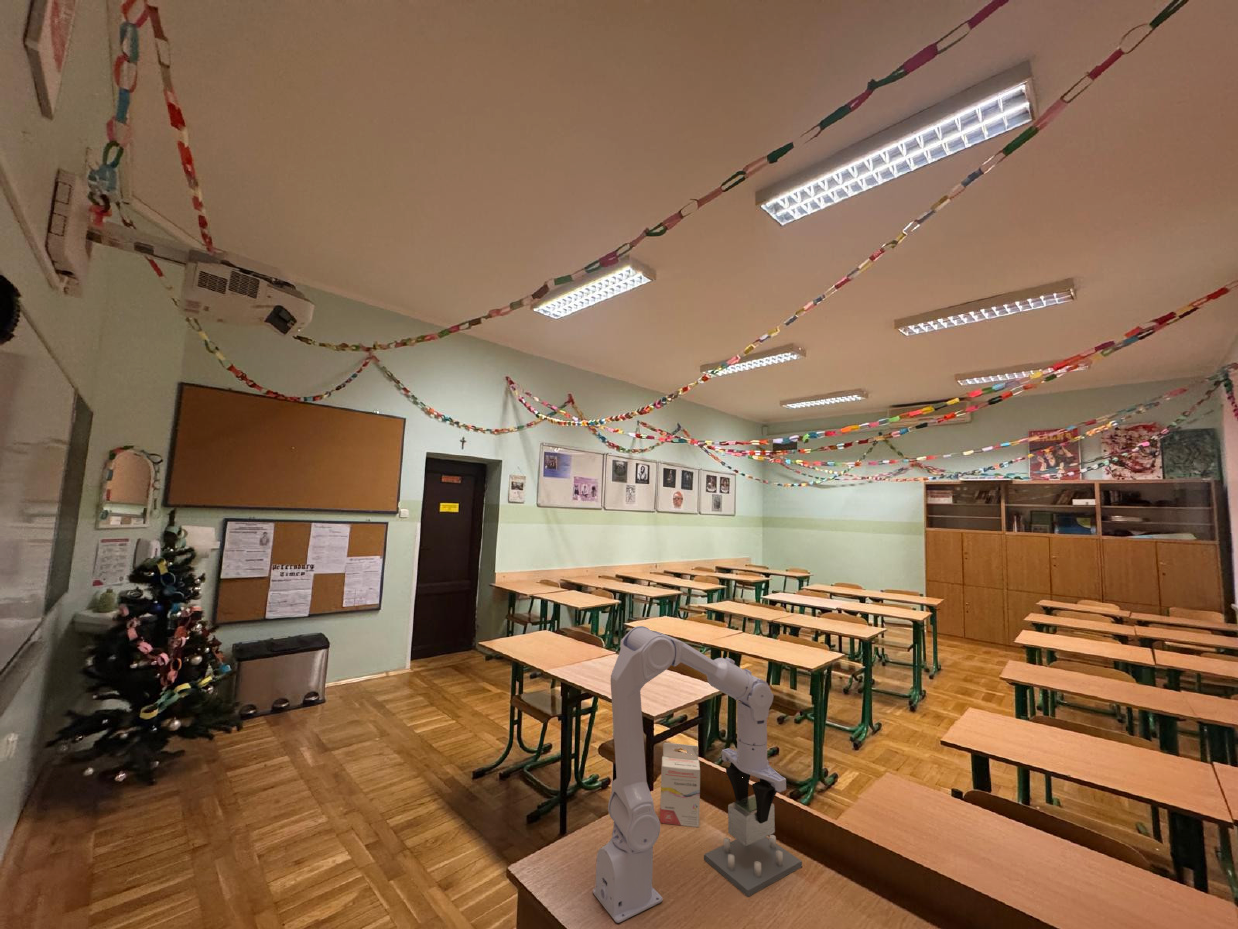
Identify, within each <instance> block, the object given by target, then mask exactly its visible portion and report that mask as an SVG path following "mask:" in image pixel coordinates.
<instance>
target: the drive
mask: <svg viewBox="0 0 1238 929" xmlns="http://www.w3.org/2000/svg"><path fill="white" fill-rule="evenodd" d="M727 813H728V814H727V817H728V818H727V819H728V820H727V822H728V823H727V830H728V832H727V833H728V834H729V835H730V836H732V837H733V838H734V839H735V840H736V839H737V840H739V841H740V842H741V843H743V844H744V845H745V846H748V845H750V844H752V843H754V842H756V841H758V840H760V839H762V838H764V837H768V836H769V837H770V835H774V834H775V832H776V826H775V820H776V819H775V804H774V803H773V802H772V804H771V808H770V811H769V816H768V821H766V822H764V823H759V822H758V820H757V807H756V798H755V794H754V793H753V794H751V795H750V796H749V795H748V797H746V798H744V799H741V800H739V801H736V800H735V801H734V802H732V803H729V804H727Z"/></svg>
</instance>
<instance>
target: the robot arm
mask: <svg viewBox="0 0 1238 929" xmlns="http://www.w3.org/2000/svg"><path fill="white" fill-rule="evenodd" d="M681 663H682V664H684V665H686V666H688V667H690V668H692V669H694V670H695V671H698V672H699V673H701V674H703V675H705V676H706V678H707V682H708V684H709V685H710V686H711V687H712V688H714V689H716V690H718V691H719V692H721V693H724V694H725V695H727V696H729V697H731V698H733V699H734V701H737V703H736V704H737V705H736V706H737V707H736V708H737V710H736V711H737V713H736V714H737V718H736V720H737V722H736V724H737V730H736V736H737V738H736V742H737V743H736V750H733V749H732V748H729V747H728V748H725V749H722V750H721V760H722V761H723V762H729V763H730V765H729V767H727V768H725V774H726V775H727V777H728V779H729V781H730V784H731V787H732V790H733V794H734V797H735V802H736V801H739V800H741V799H744V798H746V797H749V786H750V779H751V776H753V777H755V778H757V779H759V781H756V782H754V783H752V784H751V787H752V790H753V795H754V794H755V798H756V807H757V820H758V822H759V823H764V822H766V821H768V816H769V811H770V808H771V804H772V803H773V801H774V799H775V797H776V794H777V793H781V792H784V791H786V790H787V778H785V777H784V776H782V775H780V774H779V773H778V772H777V771H776V770H775V769H774V768H773V767H772V766H771V765H770V763H769V762H770V761H769V760H768V717H769V716H770V715H769V713H770V707H771V706H772V704H773V701H774V693H772V689H771V686H770V685H769V682H767V681H766V680H763V679H761V678H760V677H757V676H755V675H752V673H753V672H752V671H751V670H749V669H748V668H744V669H743V668H741V667H739V666H737V664H736V663H735V660H733V659H732V658H729V657H728V656H726V657H725V658H723V657H718V658H715V659H712V658H710V657H709V656H707V655H705V654H704V653H702V652H700V651H699V650H697V649H696V648H694V647H692V646H690V645H689V644H688V643H686V642H684V641H682V640H679V639H677V638H675V637H672V636H670V635H667V634H664V633H661V632H659V631H656V630H651V629H649V628H648V627H646V626H644V625H639V626H635V627H633V628H631V629H630V630H629V631H628V632H627V633H626V634H625V635H624V636H623V638H621V640H620V650H619V653H618V655H617V658H616V659H615V664H614V665H613V669H612V672H611V674H610V680H609V681H610V692H611V694H610V695H611V709H612V711H611V712H612V713H611V714H612V724H613V725H612V726H613V729H612V730H613V742H614V744H613V745H614V758H615V771H616V772H615V773H616V778H615V779H614V780H613V781H612V782H611V794H610V796H609V800H608V804H607V810H608V811H607V812H608V815H609V817H610V819H611V820H613V828H612V834H611V838H610V839H609V841H608V842H607V843H606V844H605V845H604V846H602V847H600V848H599V849H598V851H597V853H596V861H595V862H596V865H595V866H596V867H595V887H594V888H593V889H592V894H594V896H595V898H596V899H597V900H598V901H599V903H600V904H601V905H602V906H603V908H604V909H605V910H606V912H607V913H608V914H609V915H610V917H611V918H612V920H614V922H615V923H617V924H618V923H621V922H624V921H625V920H628V919H629V918H631V917H633V916H635V915H638V914H640V913H642V912H643V911H646V910H648V909H650V908H652V907H654V906H656V905H658V904H660V903H662V902H663V896H662V895H661V894H660V893H659V892H658V891H657V890H656V889H655V888H654V887H653V866H654V865H653V860H654V858H653V857H654V855H653V854H654V853H653V852H654V845H655V844H656V843H657V841H658V839H659V836H660V833H661V823H660V817H658V814H657V813H656V811H655V805H654V800H653V797H652V793H651V791H650V788H649V784H648V781H647V770H646V768H647V767H646V757H645V756H646V755H645V741H644V740H645V739H644V725H643V723H644V722H643V710H642V697H641V690H642V688H644V686H645V685H646V684H647V683H649V682H650V681H652V680H653V679H654V678H656V677H658V676H659V675H661V674H662V673H664V672H665V671H667V670H668V669H669V668H670V667H671V666H673V667H677V666H678V665H679V664H681ZM742 777H743V778H742Z"/></svg>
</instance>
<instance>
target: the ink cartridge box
mask: <svg viewBox="0 0 1238 929" xmlns="http://www.w3.org/2000/svg"><path fill="white" fill-rule="evenodd" d="M679 749H682V750H683V751H686V752H687V753H686V752H683V751H675V750H679ZM691 754H692V755H691ZM700 766H701V765H700V760H699V746H698V745H693V744H691V745H690V744H684V743H675V742H674V743H671V742H663V744H662V756H661V773H660V775H661V776H660V800H659V801H660V804H659V815H660V816H659V821H660V824H667V825H675V826H677V825H678V826H684V827H691V828H692V827H693V828H699V827H700V805H701V804H700V803H701V801H700V800H701V797H700V796H701V794H700V793H701V767H700Z"/></svg>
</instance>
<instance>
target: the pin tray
mask: <svg viewBox="0 0 1238 929" xmlns="http://www.w3.org/2000/svg"><path fill="white" fill-rule="evenodd" d="M703 860H704V861H705V862H706V863H707V864H708V865H709V866H711V867H712V868H713V869H714V870H715V871H716V872H718V873H719V874H720V875H721V876H722V877H724V878H725V879H726V880H727V881H729V882H730V883H731V884H732V885H733V886H734V887H735V888H737V889H738V890H739V891H740V892H741V893H742V894H743V895H745V896H746V897H747V898H749V897H750V896H753V895H754V894H756V893H758V892H760V891H761V890H763V889H765V888H767V887H769V886H770V885H772V884H774V883H775V882H778V881H779V880H781V879H782V878H785V877H787V876H788V875H790V874H792V873H795V871H797V870H799V869H801V868H802V867H803V861H802V860H801V859H800V858H798V857H797V856H795V855H794V854H792V853H790V852H789V851H788V850H786V849H785V848H783V847H782V846H780V845H779V844H778V843H777V837H776V835H774V834H771V835H769V837H768V836H766V837H764V838H762V839H760V840H758V841H756V842H754V843H752V844H750V845H748V846H745V845H744V844H743V843H741V842H740V841H739V840H737V839H736V838H735V839H734V840H732V841H731V840H730V838H727V837H725V838H723V845H721V846H718V847H717V848H714V849H712V850H709V851H708V852H705V853H704V854H703Z"/></svg>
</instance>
